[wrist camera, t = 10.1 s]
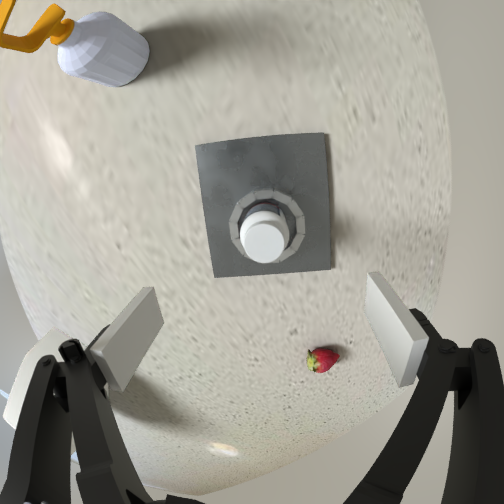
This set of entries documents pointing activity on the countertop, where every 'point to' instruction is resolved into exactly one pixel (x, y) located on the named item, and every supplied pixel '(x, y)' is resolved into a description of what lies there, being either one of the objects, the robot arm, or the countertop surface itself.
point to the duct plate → (266, 200)
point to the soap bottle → (84, 44)
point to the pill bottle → (264, 232)
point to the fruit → (321, 360)
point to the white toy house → (24, 375)
